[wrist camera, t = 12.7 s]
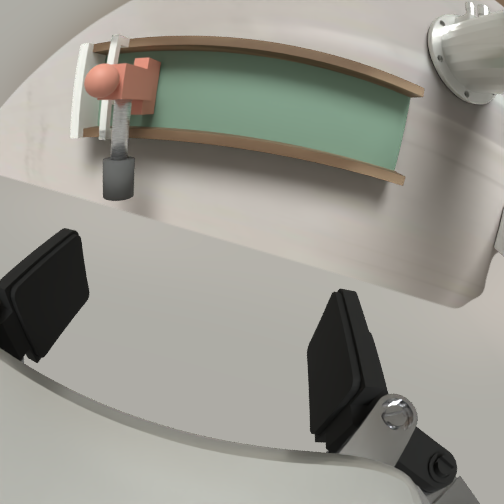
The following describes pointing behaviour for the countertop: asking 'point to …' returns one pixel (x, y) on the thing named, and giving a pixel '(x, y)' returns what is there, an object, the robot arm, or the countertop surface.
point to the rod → (123, 115)
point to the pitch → (272, 101)
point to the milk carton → (500, 237)
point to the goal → (86, 105)
